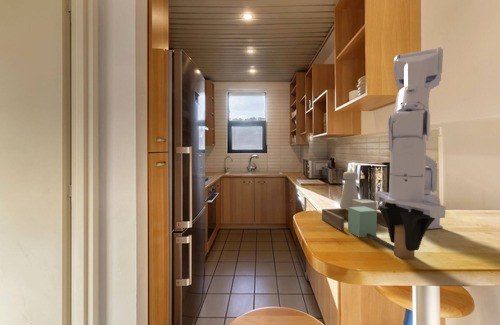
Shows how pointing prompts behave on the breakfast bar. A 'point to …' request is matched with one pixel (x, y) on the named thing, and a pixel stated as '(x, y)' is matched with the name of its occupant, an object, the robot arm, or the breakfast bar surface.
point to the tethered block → (365, 225)
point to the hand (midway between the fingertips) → (404, 245)
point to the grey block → (364, 203)
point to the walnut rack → (343, 217)
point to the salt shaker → (349, 189)
